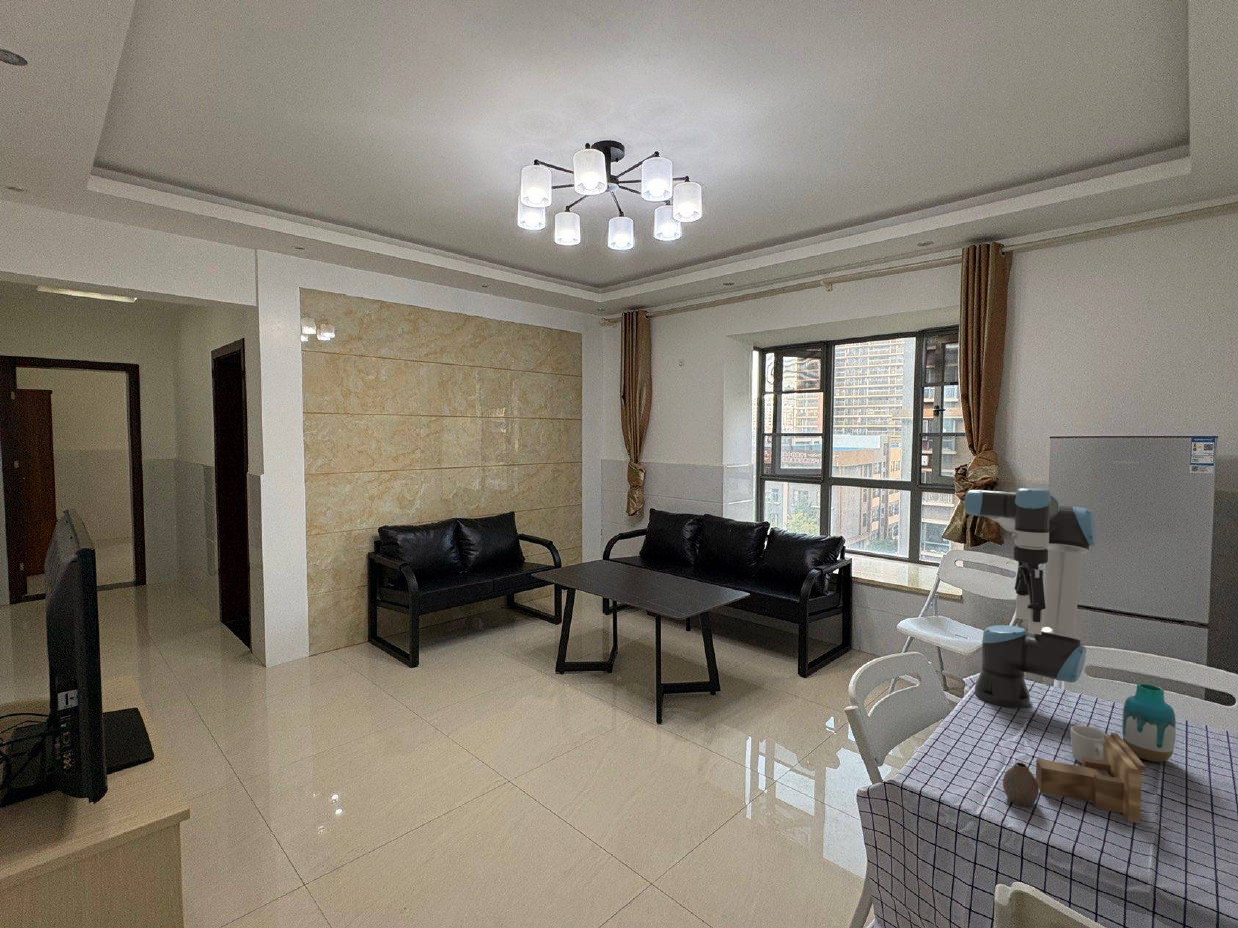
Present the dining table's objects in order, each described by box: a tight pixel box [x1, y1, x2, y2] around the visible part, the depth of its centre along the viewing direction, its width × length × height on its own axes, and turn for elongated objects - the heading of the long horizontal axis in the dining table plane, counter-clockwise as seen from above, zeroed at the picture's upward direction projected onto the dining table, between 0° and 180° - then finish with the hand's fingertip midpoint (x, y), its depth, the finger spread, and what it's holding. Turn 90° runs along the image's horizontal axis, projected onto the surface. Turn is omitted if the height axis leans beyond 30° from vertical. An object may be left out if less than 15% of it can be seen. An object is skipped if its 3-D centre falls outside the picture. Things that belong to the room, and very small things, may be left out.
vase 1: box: [1002, 761, 1040, 807], centre depth 140 cm, size 7×7×9 cm
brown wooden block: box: [1035, 758, 1111, 803], centre depth 144 cm, size 14×5×6 cm, turn 68°
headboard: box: [1081, 731, 1147, 824], centre depth 141 cm, size 16×8×13 cm, turn 158°
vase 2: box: [1121, 682, 1177, 763], centre depth 160 cm, size 11×11×19 cm
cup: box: [1070, 725, 1109, 764], centre depth 156 cm, size 11×8×8 cm
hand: (1028, 625), depth 160 cm, fingers open, 13 cm apart
